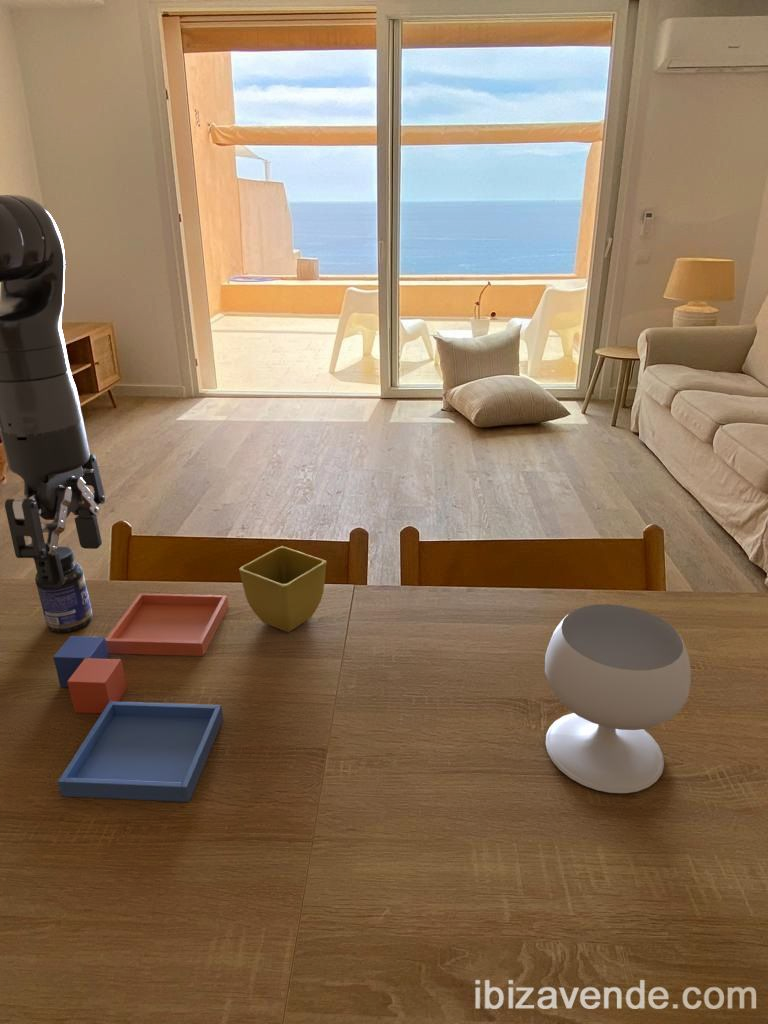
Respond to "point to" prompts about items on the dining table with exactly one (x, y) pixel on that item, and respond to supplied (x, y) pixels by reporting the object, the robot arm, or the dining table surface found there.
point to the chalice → (614, 694)
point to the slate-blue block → (78, 655)
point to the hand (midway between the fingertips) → (73, 565)
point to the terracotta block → (96, 684)
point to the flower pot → (284, 586)
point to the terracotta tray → (168, 624)
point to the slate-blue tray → (143, 752)
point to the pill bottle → (66, 597)
